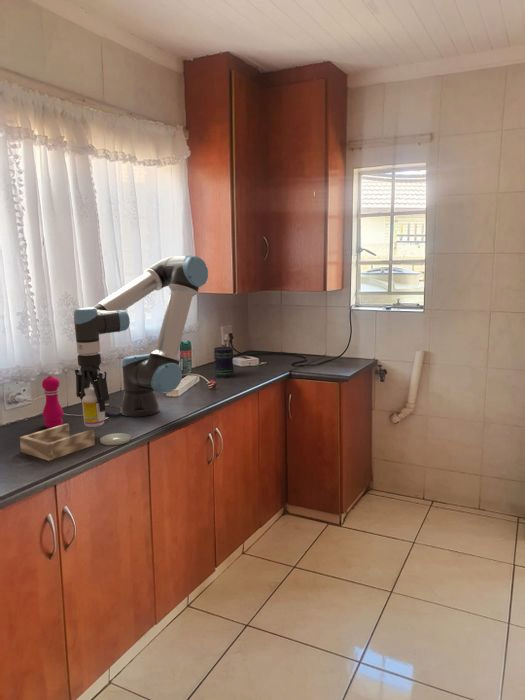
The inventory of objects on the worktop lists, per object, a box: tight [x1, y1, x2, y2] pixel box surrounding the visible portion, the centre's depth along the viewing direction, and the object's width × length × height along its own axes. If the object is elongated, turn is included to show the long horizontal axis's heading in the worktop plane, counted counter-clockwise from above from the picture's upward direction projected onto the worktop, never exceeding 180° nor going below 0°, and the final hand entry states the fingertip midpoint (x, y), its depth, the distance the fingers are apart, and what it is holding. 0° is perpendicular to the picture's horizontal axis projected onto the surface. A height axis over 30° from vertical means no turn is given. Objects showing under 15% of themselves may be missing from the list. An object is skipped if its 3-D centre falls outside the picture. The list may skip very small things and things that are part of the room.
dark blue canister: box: [213, 346, 234, 380], centre depth 287 cm, size 10×10×15 cm
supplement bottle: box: [81, 386, 105, 428], centre depth 191 cm, size 7×7×13 cm
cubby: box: [19, 423, 96, 462], centre depth 181 cm, size 18×14×5 cm
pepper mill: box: [41, 372, 64, 429], centre depth 205 cm, size 7×7×20 cm
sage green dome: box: [99, 432, 132, 446], centre depth 188 cm, size 10×10×1 cm
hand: (94, 418), depth 192 cm, fingers closed on supplement bottle, 7 cm apart
